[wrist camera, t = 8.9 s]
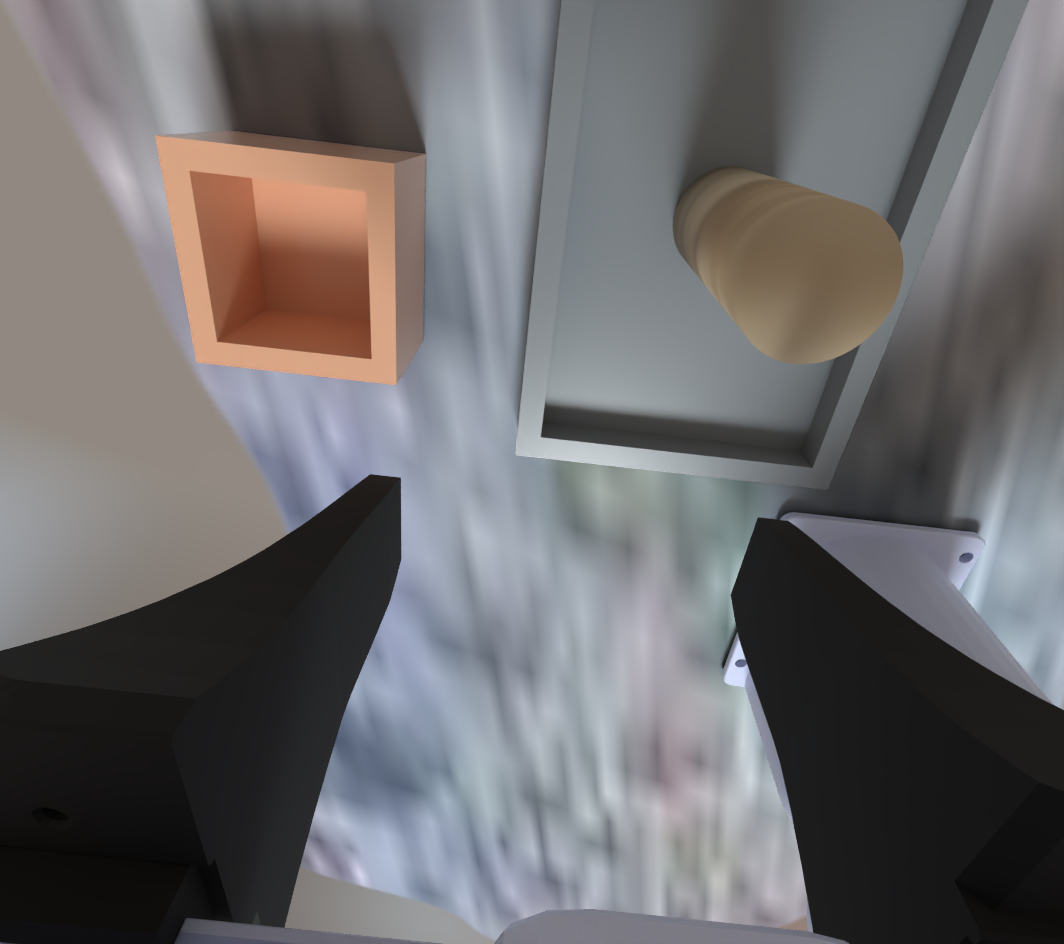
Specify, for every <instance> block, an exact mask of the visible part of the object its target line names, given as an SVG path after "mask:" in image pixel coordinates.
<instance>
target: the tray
mask: <svg viewBox="0 0 1064 944" xmlns="http://www.w3.org/2000/svg"><path fill="white" fill-rule="evenodd" d="M1028 1H1029V0H561V10H560V20H559V30H558V39H557V49H556V59H555V69H554V79H553V89H552V99H551V108H550V118H549V128H548V138H547V148H546V158H545V167H544V177H543V187H542V197H541V207H540V217H539V227H538V236H537V246H536V256H535V266H534V276H533V286H532V295H531V305H530V315H529V325H528V335H527V345H526V354H525V364H524V374H523V384H522V394H521V404H520V414H519V423H518V433H517V443H516V453H515V455H518V456H527V457H536V458H545V459H554V460H563V461H572V462H581V463H590V464H599V465H608V466H617V467H626V468H635V469H644V470H652V471H661V472H670V473H679V474H688V475H697V476H706V477H715V478H724V479H733V480H742V481H751V482H760V483H769V484H778V485H787V486H796V487H804V488H813V489H822V490H828V488H829V486H830V483H831V481H832V479H833V476H834V474H835V471H836V469H837V466H838V464H839V461H840V459H841V457H842V454H843V452H844V449H845V447H846V444H847V442H848V440H849V437H850V435H851V432H852V430H853V427H854V425H855V422H856V420H857V418H858V415H859V413H860V410H861V408H862V405H863V403H864V401H865V398H866V396H867V393H868V391H869V388H870V386H871V383H872V381H873V379H874V376H875V374H876V371H877V369H878V366H879V364H880V362H881V359H882V357H883V354H884V352H885V349H886V347H887V344H888V342H889V340H890V337H891V335H892V332H893V330H894V327H895V325H896V323H897V320H898V318H899V315H900V313H901V310H902V308H903V305H904V303H905V301H906V298H907V296H908V293H909V291H910V288H911V286H912V284H913V281H914V279H915V276H916V274H917V271H918V269H919V266H920V264H921V262H922V259H923V257H924V254H925V252H926V249H927V247H928V245H929V242H930V240H931V237H932V235H933V232H934V230H935V227H936V225H937V223H938V220H939V218H940V215H941V213H942V210H943V208H944V206H945V203H946V201H947V198H948V196H949V193H950V191H951V188H952V186H953V184H954V181H955V179H956V176H957V174H958V171H959V169H960V167H961V164H962V162H963V159H964V157H965V154H966V152H967V149H968V147H969V145H970V142H971V140H972V137H973V135H974V132H975V130H976V128H977V125H978V123H979V120H980V118H981V115H982V113H983V110H984V108H985V106H986V103H987V101H988V98H989V96H990V93H991V91H992V89H993V86H994V84H995V81H996V79H997V76H998V74H999V71H1000V69H1001V67H1002V64H1003V62H1004V59H1005V57H1006V54H1007V52H1008V50H1009V47H1010V45H1011V42H1012V40H1013V37H1014V35H1015V32H1016V30H1017V28H1018V25H1019V23H1020V20H1021V18H1022V15H1023V13H1024V11H1025V8H1026V6H1027V3H1028ZM728 166H734V167H741V168H745V169H749V170H752V171H755V172H758V173H761V174H764V175H768V176H771V177H774V178H777V179H780V180H783V181H786V182H790V183H793V184H796V185H799V186H802V187H805V188H809V189H812V190H815V191H818V192H821V193H824V194H827V195H831V196H834V197H837V198H840V199H843V200H846V201H850V202H853V203H856V204H859V205H862V206H864V207H867V208H869V209H871V210H873V211H874V212H876V213H878V214H879V215H880V216H881V217H883V218H884V219H885V220H886V221H887V222H888V223H889V225H890V226H891V227H892V229H893V230H894V232H895V233H896V235H897V237H898V240H899V242H900V245H901V249H902V254H903V265H904V266H903V278H902V283H901V287H900V290H899V293H898V296H897V299H896V301H895V303H894V305H893V307H892V309H891V311H890V312H889V314H888V315H887V317H886V318H885V320H884V321H883V322H882V324H881V325H880V326H879V327H878V328H877V329H876V331H875V332H874V333H873V334H872V335H871V336H869V337H868V338H867V339H866V340H865V341H864V342H862V343H861V344H860V345H858V346H857V347H855V348H854V349H852V350H850V351H849V352H847V353H845V354H843V355H841V356H838V357H836V358H834V359H830V360H827V361H824V362H819V363H814V364H791V363H785V362H781V361H778V360H775V359H773V358H771V357H769V356H767V355H765V354H764V353H762V352H761V351H759V350H758V349H757V348H756V347H755V346H754V345H753V344H752V343H751V342H750V341H749V339H748V338H747V337H746V336H745V334H744V333H743V332H742V331H741V330H740V328H739V327H738V326H737V325H736V323H735V322H734V321H733V320H732V318H731V317H730V316H729V315H728V313H727V312H726V311H725V310H724V308H723V307H722V306H721V305H720V303H719V302H718V301H717V300H716V298H715V297H714V296H713V295H712V293H711V292H710V291H709V290H708V288H707V287H706V286H705V285H704V284H703V282H702V281H701V280H700V279H699V277H698V276H697V275H696V274H695V272H694V271H693V270H692V269H691V267H690V266H689V265H688V264H687V262H686V261H685V260H684V259H683V257H682V256H681V255H680V253H679V251H678V250H677V247H676V245H675V241H674V237H673V218H674V214H675V210H676V207H677V205H678V202H679V200H680V199H681V197H682V195H683V194H684V192H685V191H686V189H687V188H688V187H689V186H690V185H691V184H692V183H693V182H694V181H695V180H696V179H698V178H699V177H700V176H702V175H703V174H705V173H707V172H709V171H711V170H714V169H717V168H721V167H728Z"/></svg>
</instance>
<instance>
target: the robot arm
mask: <svg viewBox="0 0 1064 944" xmlns="http://www.w3.org/2000/svg"><path fill="white" fill-rule="evenodd" d="M984 547H985V541H984V540H983V539H982V538H981V537H980V536H979V535H978V534H977V533H974V532H968V531H959V530H950V529H941V528H932V527H923V526H914V525H905V524H896V523H887V522H878V521H869V520H860V519H851V518H842V517H833V516H824V515H815V514H806V513H797V512H791V513H788V514H785V515H784V516H782V517H781V518H780V520H776V519H767V518H758V519H757V522H756V525H755V528H754V531H753V533H752V536H751V539H750V542H749V545H748V548H747V550H746V553H745V556H744V559H743V562H742V565H741V568H740V570H739V573H738V576H737V579H736V582H735V585H734V587H733V590H732V593H731V599H732V605H733V611H734V617H735V622H736V627H737V634H736V637H735V639H734V642H733V645H732V647H731V650H730V653H729V655H728V658H727V661H726V663H725V666H724V669H723V671H722V675H723V679H724V681H725V683H727V684H729V685H734V686H743V687H745V689H746V692H747V695H748V698H749V701H750V704H751V708H752V711H753V714H754V717H755V720H756V724H757V727H758V730H759V733H760V736H761V740H762V743H763V746H764V749H765V752H766V755H767V759H768V762H769V765H770V768H771V771H772V775H773V778H774V781H775V784H776V787H777V791H778V794H779V797H780V799H781V802H782V804H783V806H784V809H785V810H786V812H787V814H788V816H789V817H790V819H791V821H792V822H793V824H794V829H795V834H796V839H797V844H798V849H799V854H800V859H801V864H802V869H803V875H804V881H805V887H806V893H807V923H808V931H809V932H808V931H800V930H791V929H781V928H772V927H762V926H752V925H742V924H733V923H723V922H713V921H703V920H694V919H684V918H674V917H664V916H655V915H645V914H635V913H625V912H615V911H606V910H596V909H583V910H550V911H545V912H542V913H539V914H536V915H534V916H531V917H528V918H525V919H522V920H520V921H517V922H514V923H512V924H511V925H510V926H509V927H508V928H507V929H505V930H504V931H503V933H502V934H501V935H500V937H499V938H498V939H497V941H496V942H495V944H1064V710H1062V709H1060V708H1058V707H1056V706H1054V705H1053V704H1052V703H1051V702H1050V701H1049V699H1048V698H1047V697H1046V696H1045V694H1044V693H1043V692H1042V691H1041V690H1040V688H1039V687H1038V686H1037V685H1036V684H1035V682H1034V681H1033V680H1032V679H1031V677H1030V676H1029V675H1028V674H1027V673H1026V671H1025V670H1024V669H1023V668H1022V667H1021V665H1020V664H1019V663H1018V662H1017V660H1016V659H1015V658H1014V657H1013V656H1012V654H1011V653H1010V652H1009V651H1008V650H1007V648H1006V647H1005V646H1004V645H1003V643H1002V642H1001V641H1000V640H999V639H998V637H997V636H996V635H995V634H994V633H993V631H992V630H991V629H990V628H989V626H988V625H987V624H986V623H985V622H984V620H983V619H982V618H981V617H980V616H979V614H978V613H977V612H976V611H975V609H974V608H973V607H972V606H971V605H970V603H969V602H968V601H967V600H966V599H965V597H964V596H963V595H962V594H961V592H960V591H959V589H960V588H961V586H962V584H963V583H964V581H965V579H966V577H967V576H968V574H969V572H970V571H971V569H972V567H973V566H974V564H975V562H976V561H977V559H978V557H979V556H980V554H981V552H982V551H983V549H984ZM964 553H966V554H965V555H963V556H961V555H962V554H964ZM960 556H961V557H960ZM400 562H401V478H398V477H389V476H380V475H371V474H370V475H369V476H368V477H366V478H365V479H363V480H362V481H361V482H359V483H358V484H357V485H355V486H354V487H353V488H352V489H350V490H349V491H348V492H346V493H345V494H344V495H342V496H341V497H340V498H338V499H337V500H336V501H335V502H333V503H332V504H331V505H329V506H328V507H327V508H325V509H324V510H323V511H321V512H320V513H318V514H317V515H316V516H314V517H313V518H312V519H310V520H309V521H307V522H306V523H305V524H303V525H302V526H300V527H299V528H297V529H295V530H294V531H292V532H291V533H289V534H288V535H286V536H285V537H283V538H282V539H280V540H279V541H277V542H276V543H274V544H273V545H271V546H270V547H268V548H266V549H265V550H263V551H261V552H259V553H258V554H256V555H254V556H252V557H251V558H249V559H247V560H246V561H243V562H242V563H240V564H238V565H236V566H234V567H232V568H230V569H228V570H226V571H224V572H223V573H221V574H219V575H216V576H214V577H212V578H210V579H208V580H206V581H204V582H201V583H199V584H197V585H194V586H192V587H190V588H188V589H185V590H183V591H181V592H179V593H176V594H174V595H172V596H170V597H167V598H165V599H163V600H160V601H158V602H155V603H152V604H150V605H147V606H145V607H142V608H139V609H137V610H134V611H131V612H129V613H126V614H123V615H120V616H117V617H114V618H111V619H108V620H105V621H102V622H100V623H96V624H93V625H90V626H87V627H85V628H81V629H78V630H74V631H70V632H67V633H63V634H60V635H57V636H53V637H49V638H46V639H43V640H39V641H35V642H32V643H28V644H25V645H21V646H18V647H14V648H10V649H6V650H2V651H0V944H439V943H430V942H420V941H409V940H400V939H390V938H379V937H370V936H360V935H351V934H341V933H331V932H321V931H311V930H301V929H290V928H284V927H285V922H286V919H287V915H288V911H289V906H290V903H291V899H292V895H293V891H294V886H295V883H296V879H297V875H298V871H299V868H300V864H301V860H302V857H303V853H304V849H305V845H306V842H307V838H308V834H309V831H310V827H311V823H312V819H313V816H314V812H315V809H316V805H317V802H318V798H319V795H320V791H321V788H322V784H323V781H324V777H325V774H326V770H327V767H328V763H329V760H330V757H331V754H332V750H333V747H334V744H335V740H336V737H337V734H338V730H339V727H340V724H341V721H342V717H343V714H344V712H345V709H346V706H347V704H348V701H349V698H350V695H351V693H352V691H353V688H354V686H355V683H356V681H357V679H358V676H359V674H360V672H361V669H362V667H363V664H364V662H365V660H366V657H367V655H368V653H369V650H370V648H371V645H372V643H373V641H374V638H375V636H376V634H377V631H378V629H379V626H380V624H381V622H382V619H383V617H384V614H385V612H386V609H387V607H388V604H389V602H390V599H391V595H392V592H393V588H394V584H395V581H396V577H397V573H398V569H399V565H400ZM739 659H742V660H740V661H737V660H739Z"/></svg>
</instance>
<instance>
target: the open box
mask: <svg viewBox="0 0 1064 944" xmlns="http://www.w3.org/2000/svg"><path fill="white" fill-rule="evenodd" d="M155 138H156V143H157V149H158V154H159V160H160V165H161V171H162V176H163V182H164V187H165V192H166V198H167V203H168V209H169V214H170V220H171V225H172V231H173V236H174V242H175V247H176V252H177V258H178V263H179V269H180V274H181V280H182V285H183V291H184V296H185V302H186V307H187V312H188V318H189V323H190V329H191V334H192V340H193V345H194V351H195V356H196V362H198V363H206V364H215V365H224V366H233V367H242V368H251V369H259V370H268V371H277V372H286V373H295V374H304V375H313V376H321V377H330V378H339V379H348V380H357V381H366V382H374V383H383V384H392V385H397V383H398V382H399V380H400V378H401V377H402V375H403V373H404V372H405V370H406V368H407V367H408V365H409V364H410V362H411V360H412V359H413V357H414V355H415V354H416V352H417V351H418V349H419V347H420V346H421V344H422V342H423V339H424V265H425V190H426V154H424V153H415V152H407V151H398V150H390V149H381V148H373V147H365V146H356V145H348V144H339V143H331V142H322V141H314V140H305V139H297V138H288V137H280V136H271V135H263V134H254V133H246V132H237V131H221V132H204V133H187V134H170V135H155Z"/></svg>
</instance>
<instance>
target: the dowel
mask: <svg viewBox="0 0 1064 944" xmlns="http://www.w3.org/2000/svg"><path fill="white" fill-rule="evenodd" d="M673 237H674V241H675V245H676V247H677V250H678V251H679V253H680V255H681V256H682V257H683V259H684V260H685V261H686V262H687V264H688V265H689V266H690V267H691V269H692V270H693V271H694V272H695V274H696V275H697V276H698V277H699V279H700V280H701V281H702V282H703V284H704V285H705V286H706V287H707V288H708V290H709V291H710V292H711V293H712V295H713V296H714V297H715V298H716V300H717V301H718V302H719V303H720V305H721V306H722V307H723V308H724V310H725V311H726V312H727V313H728V315H729V316H730V317H731V318H732V320H733V321H734V322H735V323H736V325H737V326H738V327H739V328H740V330H741V331H742V332H743V333H744V334H745V336H746V337H747V338H748V339H749V341H750V342H751V343H752V344H753V345H754V346H755V347H756V348H757V349H758V350H759V351H761V352H762V353H764V354H765V355H767V356H769V357H771V358H773V359H775V360H778V361H781V362H785V363H791V364H814V363H819V362H824V361H827V360H830V359H834V358H836V357H838V356H841V355H843V354H845V353H847V352H849V351H850V350H852V349H854V348H855V347H857V346H858V345H860V344H861V343H862V342H864V341H865V340H866V339H867V338H868V337H869V336H871V335H872V334H873V333H874V332H875V331H876V329H877V328H878V327H879V326H880V325H881V324H882V322H883V321H884V320H885V318H886V317H887V315H888V314H889V312H890V311H891V309H892V307H893V305H894V303H895V301H896V299H897V296H898V293H899V290H900V287H901V283H902V278H903V266H904V265H903V254H902V249H901V245H900V242H899V240H898V237H897V235H896V233H895V232H894V230H893V229H892V227H891V226H890V225H889V223H888V222H887V221H886V220H885V219H884V218H883V217H881V216H880V215H879V214H878V213H876V212H874V211H873V210H871V209H869V208H867V207H864V206H862V205H859V204H856V203H853V202H850V201H846V200H843V199H840V198H837V197H834V196H831V195H827V194H824V193H821V192H818V191H815V190H812V189H809V188H805V187H802V186H799V185H796V184H793V183H790V182H786V181H783V180H780V179H777V178H774V177H771V176H768V175H764V174H761V173H758V172H755V171H752V170H749V169H745V168H741V167H734V166H728V167H721V168H717V169H714V170H711V171H709V172H707V173H705V174H703V175H702V176H700V177H699V178H698V179H696V180H695V181H694V182H693V183H692V184H691V185H690V186H689V187H688V188H687V189H686V191H685V192H684V194H683V195H682V197H681V199H680V200H679V202H678V205H677V207H676V210H675V214H674V218H673Z"/></svg>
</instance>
